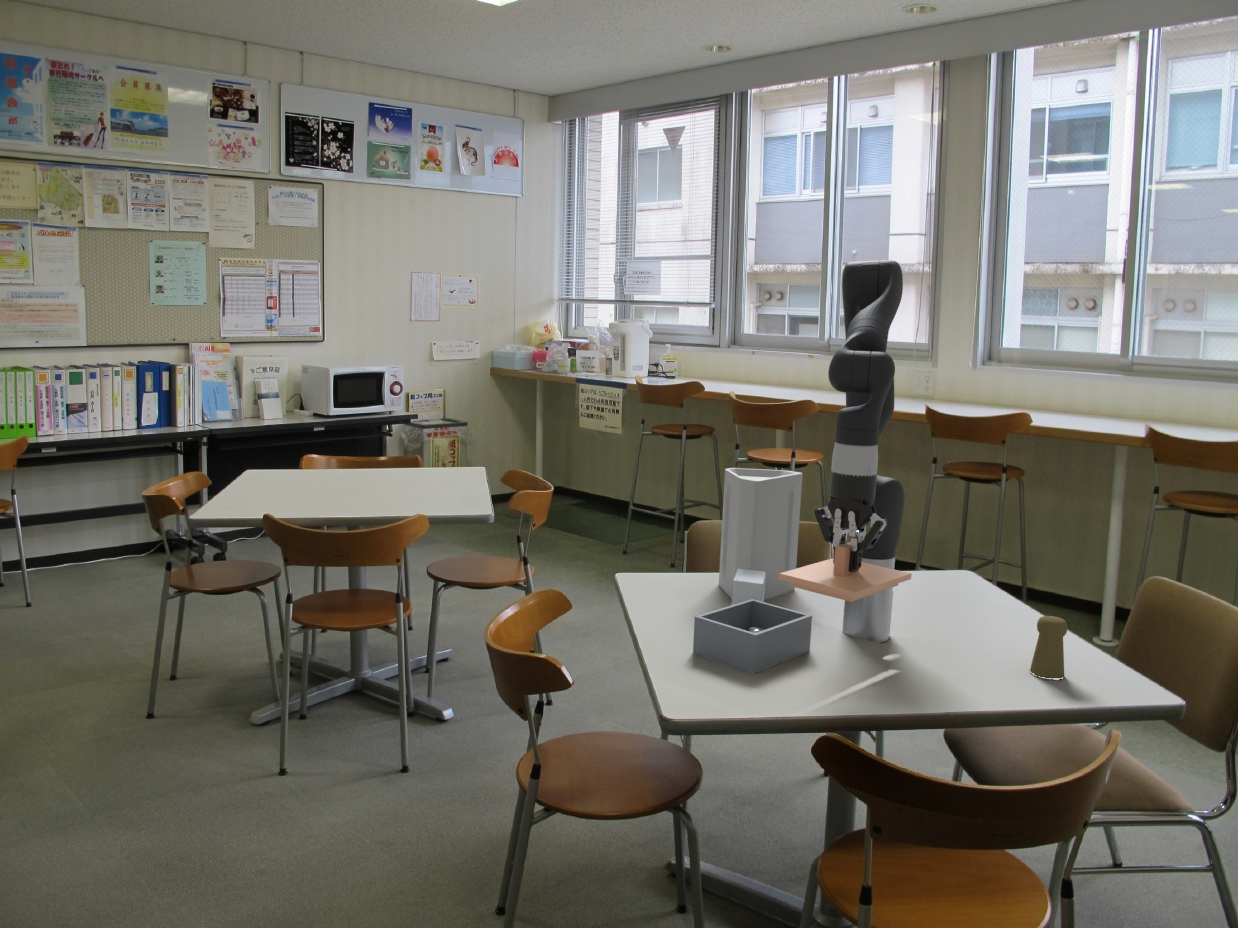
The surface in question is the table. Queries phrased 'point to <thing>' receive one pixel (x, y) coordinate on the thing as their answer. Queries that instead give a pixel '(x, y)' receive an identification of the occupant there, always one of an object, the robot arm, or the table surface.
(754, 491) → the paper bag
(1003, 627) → the table surface
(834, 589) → the lid
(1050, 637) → the cork
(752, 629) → the metal part
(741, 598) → the skincare box
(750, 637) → the tub
